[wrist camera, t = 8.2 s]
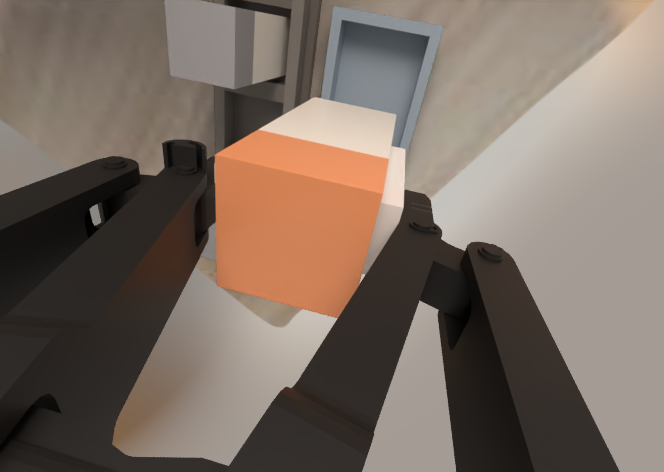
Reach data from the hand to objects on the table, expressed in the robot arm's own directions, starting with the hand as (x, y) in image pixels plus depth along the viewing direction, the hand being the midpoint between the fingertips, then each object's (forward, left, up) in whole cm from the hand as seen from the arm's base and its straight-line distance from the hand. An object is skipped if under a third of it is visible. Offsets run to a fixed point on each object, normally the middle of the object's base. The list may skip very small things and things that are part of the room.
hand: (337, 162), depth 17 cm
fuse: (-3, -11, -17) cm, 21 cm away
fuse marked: (0, 0, -3) cm, 3 cm away
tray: (0, 0, -18) cm, 18 cm away
